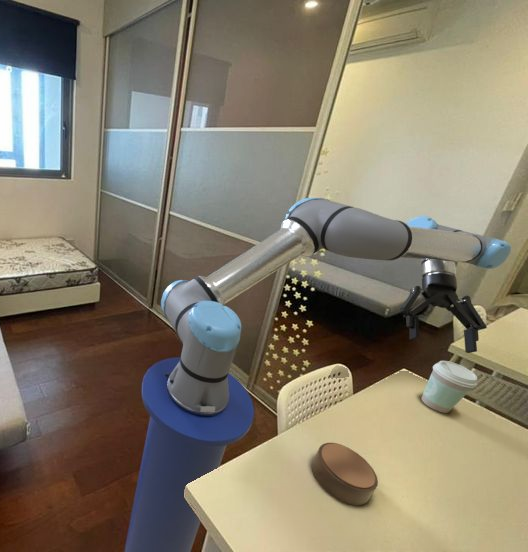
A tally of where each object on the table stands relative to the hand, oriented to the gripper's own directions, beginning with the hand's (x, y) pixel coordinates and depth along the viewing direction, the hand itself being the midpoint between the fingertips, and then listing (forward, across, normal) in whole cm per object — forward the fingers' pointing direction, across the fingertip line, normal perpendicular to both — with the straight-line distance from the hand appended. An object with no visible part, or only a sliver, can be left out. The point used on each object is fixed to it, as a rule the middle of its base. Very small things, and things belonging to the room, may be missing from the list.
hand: (442, 345), depth 89 cm
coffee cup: (+16, 0, -4) cm, 17 cm away
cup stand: (+41, +33, +21) cm, 57 cm away
